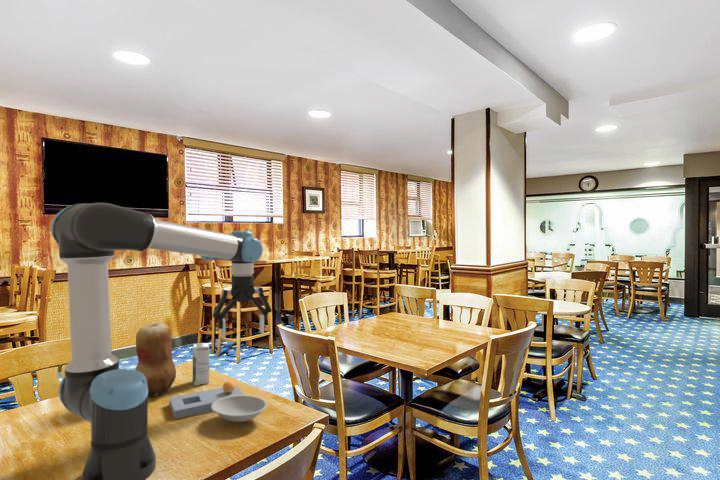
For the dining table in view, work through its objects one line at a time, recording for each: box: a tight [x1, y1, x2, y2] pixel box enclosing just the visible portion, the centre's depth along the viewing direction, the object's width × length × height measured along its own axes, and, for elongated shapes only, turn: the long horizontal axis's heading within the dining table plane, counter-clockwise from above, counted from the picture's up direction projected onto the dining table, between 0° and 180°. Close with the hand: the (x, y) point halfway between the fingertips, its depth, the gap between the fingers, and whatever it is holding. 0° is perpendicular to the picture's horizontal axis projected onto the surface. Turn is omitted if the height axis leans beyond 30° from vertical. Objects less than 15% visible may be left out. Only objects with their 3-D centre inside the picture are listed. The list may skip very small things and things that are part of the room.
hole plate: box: [168, 384, 245, 420], centre depth 137 cm, size 12×22×2 cm, turn 122°
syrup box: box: [192, 342, 210, 387], centre depth 157 cm, size 6×6×14 cm
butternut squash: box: [134, 322, 177, 396], centre depth 145 cm, size 14×13×25 cm
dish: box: [211, 394, 268, 423], centre depth 125 cm, size 18×14×5 cm
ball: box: [222, 380, 236, 393], centre depth 141 cm, size 4×4×4 cm
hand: (243, 335), depth 144 cm, fingers open, 13 cm apart
